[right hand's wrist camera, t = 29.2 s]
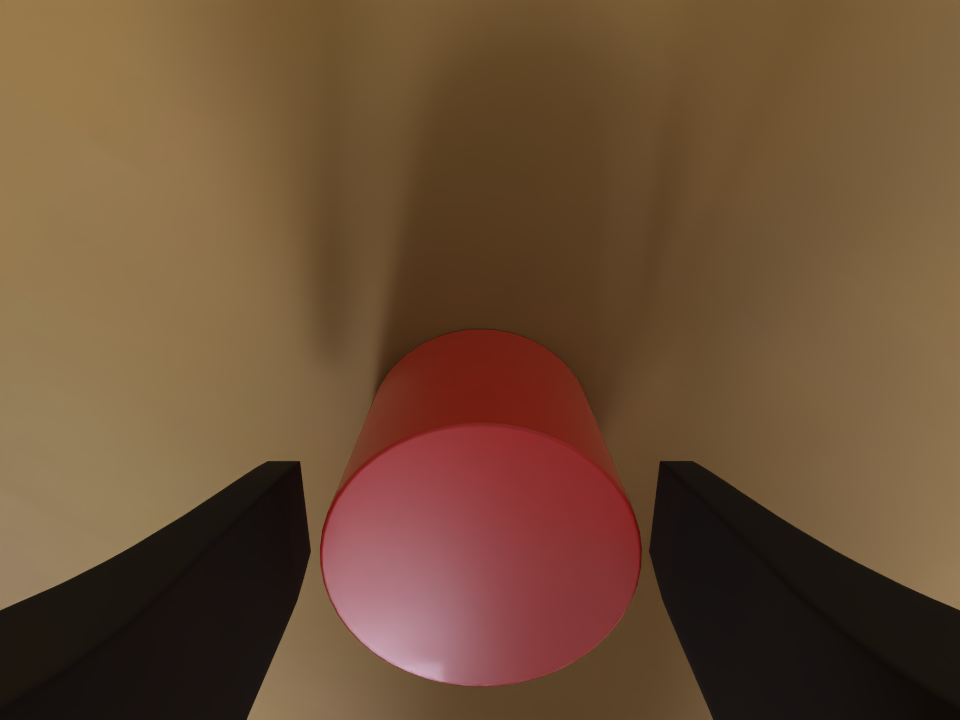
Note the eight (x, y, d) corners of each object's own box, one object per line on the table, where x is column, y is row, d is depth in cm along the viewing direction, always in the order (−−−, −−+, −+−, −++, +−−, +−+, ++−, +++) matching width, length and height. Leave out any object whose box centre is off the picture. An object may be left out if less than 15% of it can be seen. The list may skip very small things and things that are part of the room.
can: (375, 526, 14) (332, 687, 10) (362, 328, 12) (303, 421, 8) (584, 528, 14) (627, 688, 10) (599, 329, 12) (659, 423, 8)
